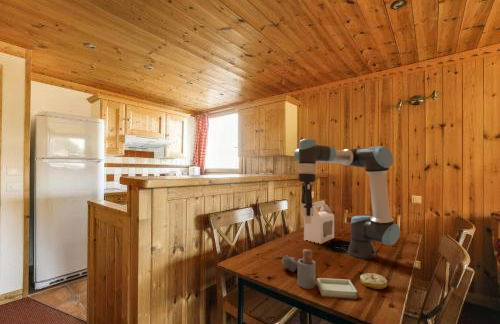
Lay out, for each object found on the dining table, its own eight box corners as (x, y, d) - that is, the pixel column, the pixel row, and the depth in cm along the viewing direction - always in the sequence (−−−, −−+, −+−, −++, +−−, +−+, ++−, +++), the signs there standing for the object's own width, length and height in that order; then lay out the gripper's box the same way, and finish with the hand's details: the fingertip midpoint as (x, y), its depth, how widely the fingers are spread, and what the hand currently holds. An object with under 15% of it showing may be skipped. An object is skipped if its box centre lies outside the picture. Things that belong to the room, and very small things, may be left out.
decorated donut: (359, 278, 116) (359, 270, 116) (384, 281, 112) (384, 273, 113) (361, 288, 106) (361, 279, 106) (389, 292, 102) (389, 283, 103)
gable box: (318, 234, 193) (318, 198, 193) (334, 237, 184) (334, 200, 184) (303, 240, 176) (303, 201, 177) (320, 244, 167) (320, 203, 168)
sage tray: (349, 285, 108) (349, 279, 108) (357, 298, 97) (357, 292, 97) (317, 283, 109) (317, 277, 110) (321, 296, 99) (321, 289, 99)
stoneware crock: (313, 281, 112) (313, 259, 112) (316, 289, 104) (316, 265, 105) (296, 280, 113) (297, 258, 113) (298, 287, 105) (298, 264, 105)
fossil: (305, 272, 122) (305, 255, 122) (293, 277, 116) (293, 260, 116) (288, 265, 130) (288, 250, 130) (276, 269, 124) (276, 253, 125)
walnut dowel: (311, 281, 110) (314, 249, 110) (312, 285, 106) (316, 252, 107) (299, 279, 111) (302, 247, 111) (299, 283, 107) (303, 250, 107)
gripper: (296, 172, 124) (295, 214, 123) (301, 173, 99) (300, 225, 98) (311, 173, 123) (310, 215, 122) (320, 173, 98) (319, 226, 97)
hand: (306, 220), depth 110 cm, fingers open, 13 cm apart
